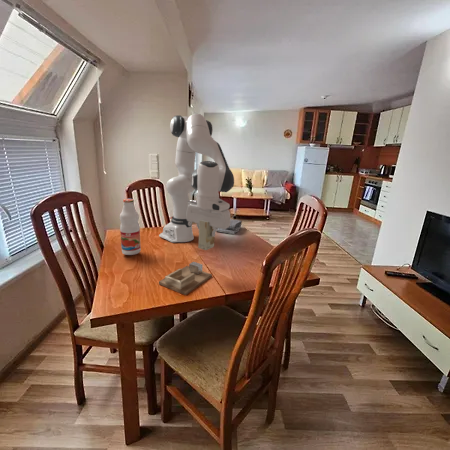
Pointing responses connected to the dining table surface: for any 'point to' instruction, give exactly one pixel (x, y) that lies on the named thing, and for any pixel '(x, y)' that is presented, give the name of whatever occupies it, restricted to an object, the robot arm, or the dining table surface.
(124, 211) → the fruit juice
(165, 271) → the dining table surface
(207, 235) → the skincare box
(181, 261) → the dining table surface
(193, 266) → the block
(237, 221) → the towel
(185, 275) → the base
